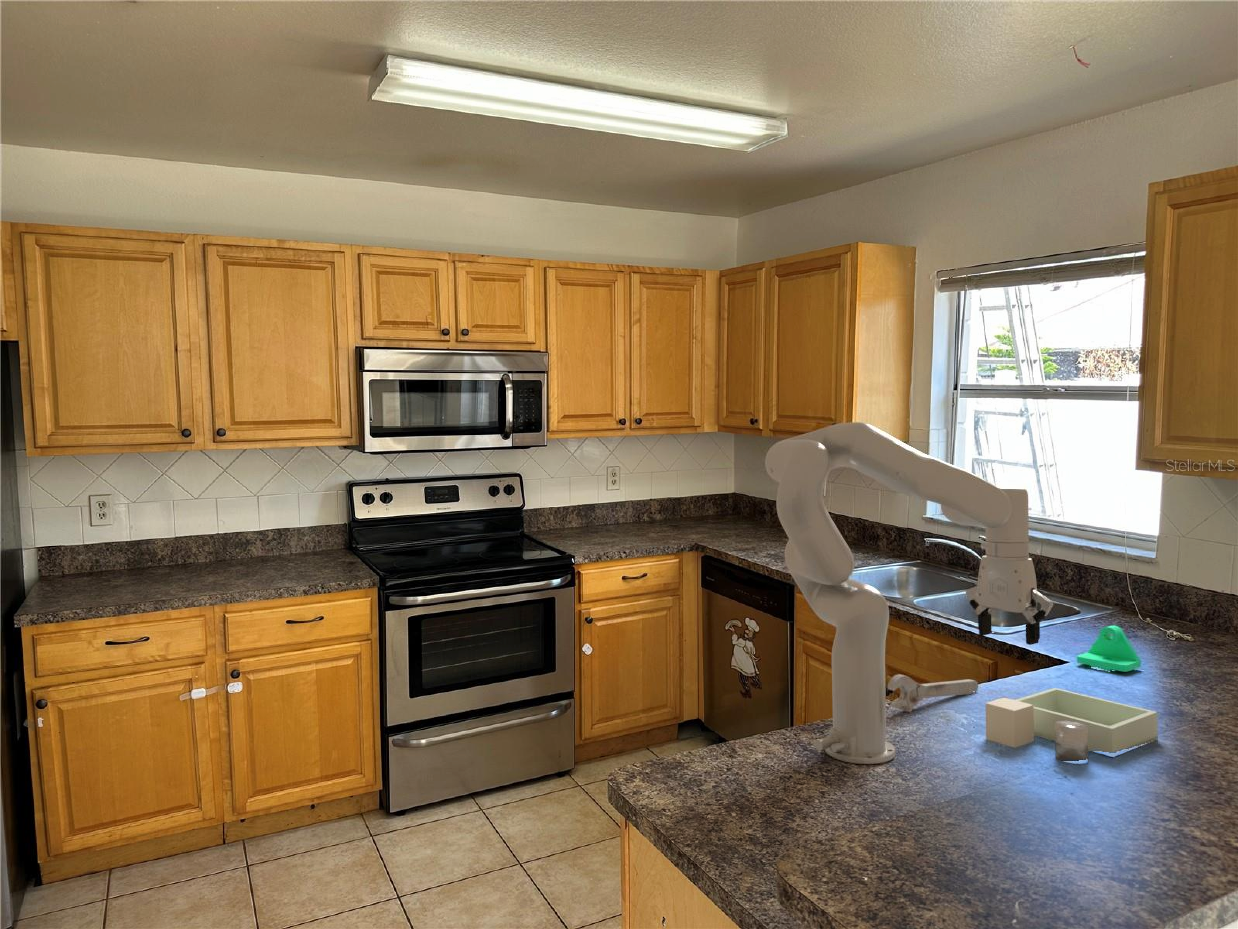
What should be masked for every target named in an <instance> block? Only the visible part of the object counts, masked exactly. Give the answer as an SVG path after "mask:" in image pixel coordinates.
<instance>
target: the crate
mask: <svg viewBox="0 0 1238 929" xmlns="http://www.w3.org/2000/svg"><path fill="white" fill-rule="evenodd" d="M1015 700H1016V701H1020V702H1024V703H1028V704H1031V705H1033V713H1034V737H1035V736H1036V737H1039V738H1042V739H1046V740H1050V741H1052V742H1055V723H1056V722H1059V721H1071V722H1077V723H1081V724H1084V725H1086V726H1087V727H1088V752H1090V751H1102V752H1109V753H1116V752H1117V751H1121V750H1123V749H1129V748H1132V747H1134V746H1139V745H1141V744H1145V743H1149V742H1151V743H1153V742H1152V741H1154V742H1156V741H1158V740H1159V737H1158V736H1159V735H1158V734H1159V733H1158V732H1159V730H1158V726H1159V723H1158V712H1157V711H1154V710H1151V709H1145V708H1142V707H1137V706H1134V705H1130V704H1126V703H1122V702H1117V701H1112V700H1108V699H1104V698H1100V697H1096V696H1091V695H1086V694H1082V693H1078V692H1076V691H1075V692H1074V691H1070V690H1066V689H1062V688H1058V687H1054V688H1049V689H1047V690H1043V691H1040V692H1036V693H1033V694H1029V695H1027V696H1023V697H1019V698H1016V699H1015ZM1155 740H1156V741H1155ZM1149 744H1150V743H1149Z"/></svg>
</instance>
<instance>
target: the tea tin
mask: <svg viewBox="0 0 1238 929" xmlns="http://www.w3.org/2000/svg"><path fill="white" fill-rule="evenodd" d="M1054 745H1055V746H1054V747H1055V748H1054V751H1055V753H1054V754H1055V759H1056V760H1057V761H1059V760H1060V761H1059V762H1062V761H1079V760H1086V759H1088V760H1089V751H1088V727H1087V726H1086V725H1084V724H1081V723H1077V722H1071V721H1059V722H1056V723H1055V741H1054Z"/></svg>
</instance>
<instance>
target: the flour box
mask: <svg viewBox="0 0 1238 929" xmlns="http://www.w3.org/2000/svg"><path fill="white" fill-rule="evenodd" d="M985 739H986V740H988V741H992V742H994V743H998V744H1001V745H1004V746H1007V747H1011V748H1014V749H1016V748H1020V747H1022V746H1025V745H1027V744H1030V743H1033V742H1034V741H1035V735H1034V713H1033V705H1031V704H1028V703H1024V702H1020V701H1016V699H1012V698H1007V697H1001V698H998V699H995V700H992V701H988V702H985Z"/></svg>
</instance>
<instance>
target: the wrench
mask: <svg viewBox="0 0 1238 929" xmlns="http://www.w3.org/2000/svg"><path fill="white" fill-rule="evenodd" d="M897 689H899V691H900V694H899V697H897V698H895V699H894V700H893V701H891V705H892V707H894V708H895V709H898V710H901V711H905V712H907V713H912V711H913V709H914V707H915V706H917V704H918V703H919V702H920V701H922V700H924V699H930V698H939V697H949V696H961V695H962V696H963V695H971V693H973V691H975V692H976V691H977V692H978V690H979V683H978V682H977V681H976V680H975V679H969V678H968V679H958V680H950V681H949V680H948V681H939V682H928V683H918V682H916V681H915V680H913V679H912V678H911V677H909V676H907V675H904V674H900V673H898V674H895V675H893V676H892V677H891V678H890V680H889V681H888V684H887V690H889V691H894V692H895V691H896V690H897ZM977 692H976V693H977ZM973 694H974V693H973Z"/></svg>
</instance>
